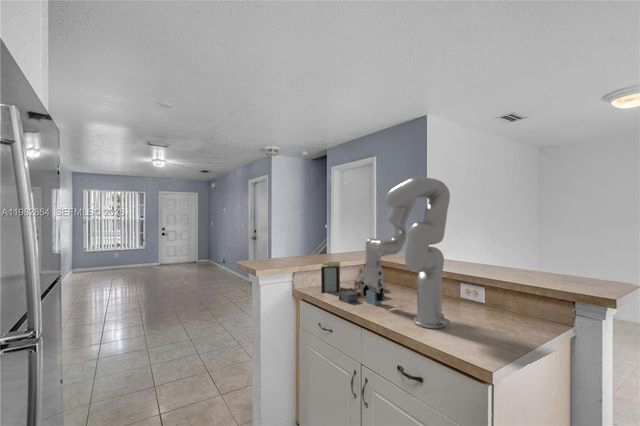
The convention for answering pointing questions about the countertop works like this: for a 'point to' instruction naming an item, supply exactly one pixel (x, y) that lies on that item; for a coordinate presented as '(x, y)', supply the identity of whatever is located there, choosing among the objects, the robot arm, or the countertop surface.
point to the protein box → (330, 277)
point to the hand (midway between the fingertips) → (372, 297)
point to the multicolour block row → (361, 299)
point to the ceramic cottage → (358, 280)
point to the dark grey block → (349, 297)
